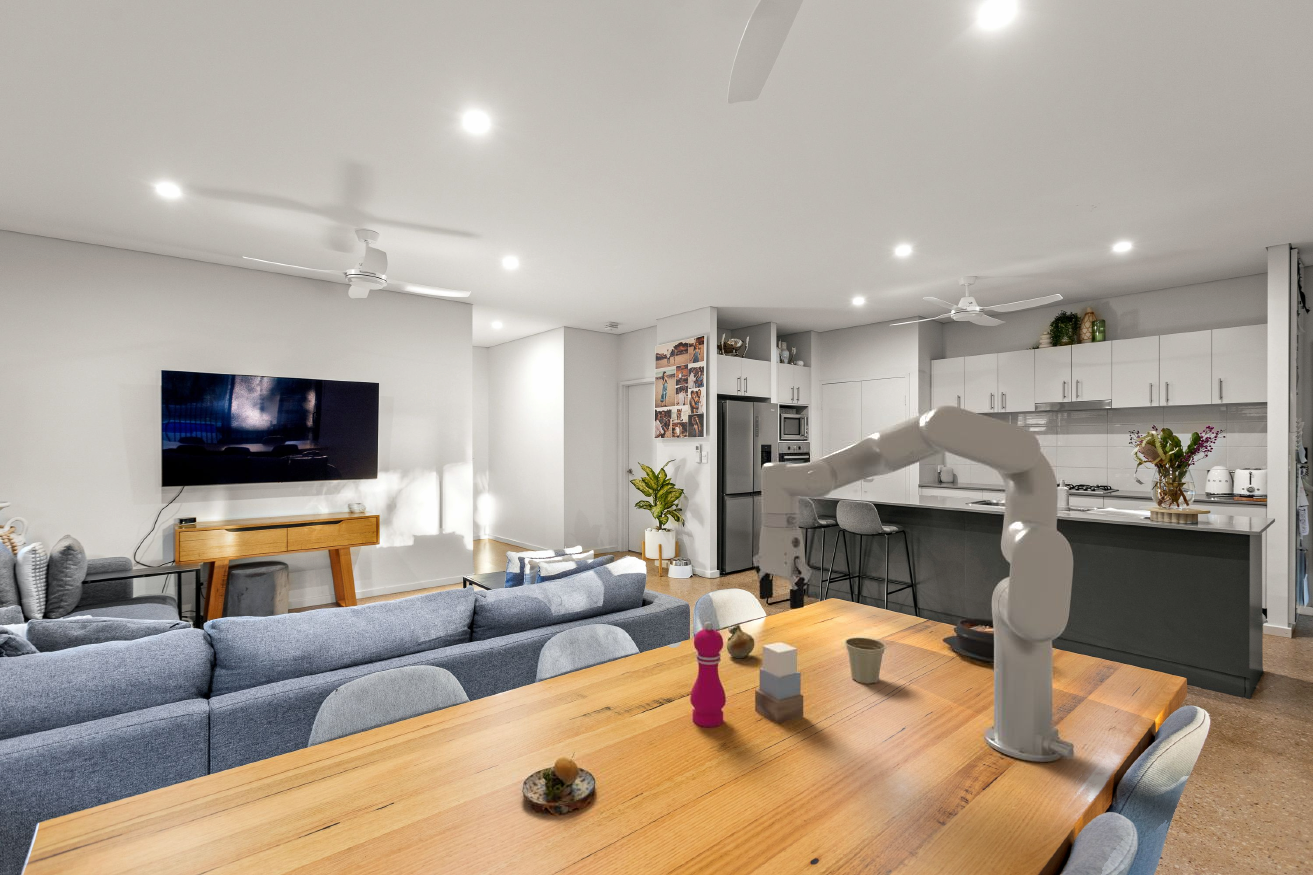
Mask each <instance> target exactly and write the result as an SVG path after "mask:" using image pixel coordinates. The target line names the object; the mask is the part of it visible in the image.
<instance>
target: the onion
mask: <svg viewBox="0 0 1313 875" xmlns="http://www.w3.org/2000/svg"><path fill="white" fill-rule="evenodd" d="M727 630H728V633H729V634H731V636H730V637H728V638H727V643H726V649H727V653H728V654H730V655H731V657H733V658H736V659H744V658H747V657H748V656H749V655H750V654H751V653H752V652H753V650H754V648H755V639H754V637H753V636H752V635H751V634H748V632H745V631H744V630H742V628H741V625H739V624H737V625H734V626H733V627H731V626H729V627H728V628H727Z"/></svg>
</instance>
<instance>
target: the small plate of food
mask: <svg viewBox="0 0 1313 875" xmlns="http://www.w3.org/2000/svg"><path fill="white" fill-rule="evenodd" d="M575 753H576V751H574V752H573V755H572V758H570V757H566V756H561V757H559V758H557V759H556V760H555V762H554V765H553V766H552V767H551V766H550V767H547V768H544V769H540V770H538V771H535V772H534V773H532V774H531V775H529V776H528V777H527V778H525V780H524V781H523V784H522V791H521V793H522V797H523V798H524V799H525V800H527V801H528V802H529V805H530V811H531V812H532V811H534V813H536V814H541V815H543V814H544V810H545V808H547V809H548V811H549V812H550V813H551V814H553V815H556V816H560V815H561V814H563V815H565V814H566V813H567V812H569V811H571V812H572V811H573V810H574V809H577V810H582V809H583V808H586V806H587V805H588V803H590V804H591V803H592V802H593V801H594V799H595V797H596V794H597V790H596V779H595V777H594V776H593V774H592V773H591V772H590V771H588V770H586V769H584V768H581V767H579V766H578V765H577V763H576V762H575V761H574V760H573V758H574V756H575Z"/></svg>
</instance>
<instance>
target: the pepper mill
mask: <svg viewBox="0 0 1313 875" xmlns="http://www.w3.org/2000/svg"><path fill="white" fill-rule="evenodd" d="M703 626H704V628H702V629H700V630H698V631H697V632H696V634H695V636H694V638H693V646H694V648H695V650H696V653H695V655H696V657H695V661H696V662H697V663H698V664H697V665H698V673H697V677H696V680H695V682H694V684H693V686H692V687H691V691H690V698H689V699H690V700H689V701H690V705H692V707H693V708H694V709H693V710H692V714H691V715H692V722H693V723H694V724H696V725H697V726H700V727H704V728H715V727H719V726H721V725H722V724H723V722H724V711H723V710H722V709H723V708H724V707H725V705H726V702H727V700H726V699H727V698H726V692H725V689H724V687H723V684H722V682H721V680H720V676H719V663H720V662H721V657H722V655H721V653H720V652H721V651H722V649H723V648H724V638H723V636H722V634H721V633H720V632H719V631H717V630H716V629H714V625H713V623H712V622H711V621H707V622H705V623H704V625H703Z"/></svg>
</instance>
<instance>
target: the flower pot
mask: <svg viewBox="0 0 1313 875" xmlns="http://www.w3.org/2000/svg"><path fill="white" fill-rule="evenodd" d="M844 645H845V646H846V650H847V652H848V659H849V668H850V669H849V670H850V675H851V676H850V677H851V679H852V680H855V681H856V682H858V683H861V684H867V685H871V684H872V683H875V684H876V683H878V682H879V680H880V673H881V672H880V671H881V665H882V661H883V655H884V653H885V649H887V645H886V643H884V642H883V641H881V640H878V639H873V638H869V637H850V638H847V639H845V640H844Z"/></svg>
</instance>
